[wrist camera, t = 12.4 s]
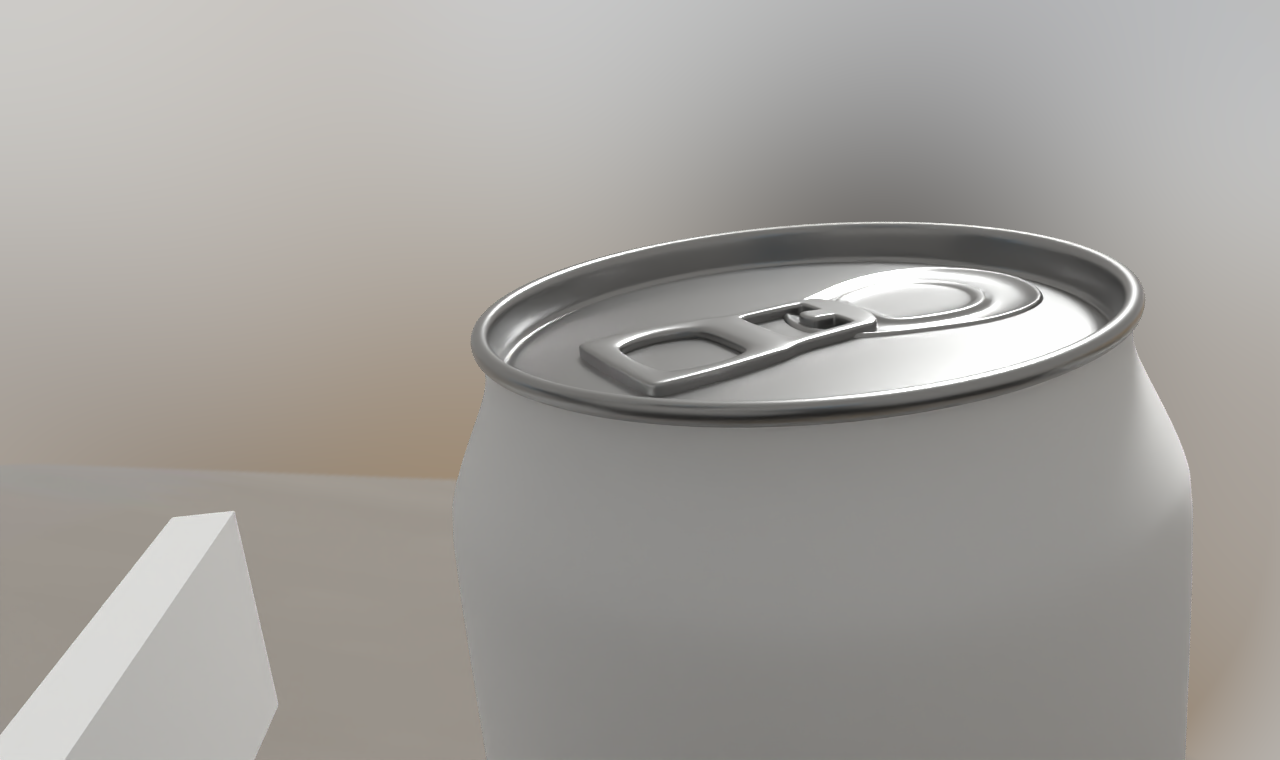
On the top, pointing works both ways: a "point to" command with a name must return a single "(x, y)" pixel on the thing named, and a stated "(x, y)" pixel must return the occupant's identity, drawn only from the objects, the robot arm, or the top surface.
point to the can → (826, 505)
